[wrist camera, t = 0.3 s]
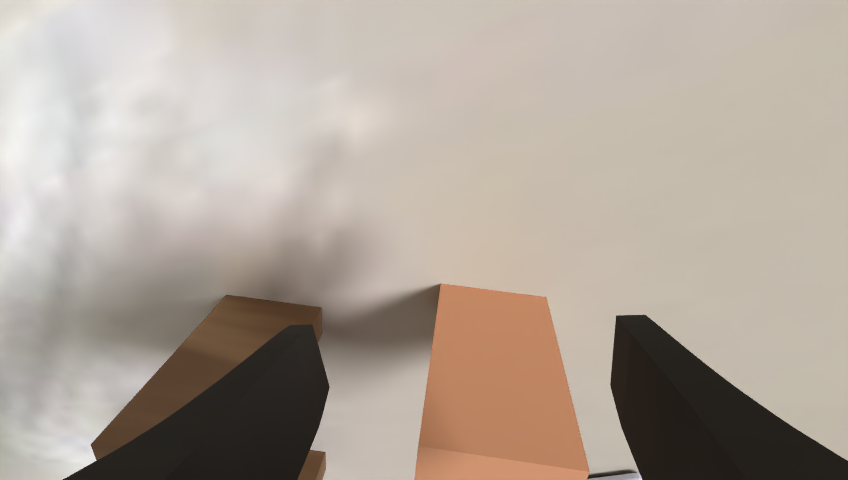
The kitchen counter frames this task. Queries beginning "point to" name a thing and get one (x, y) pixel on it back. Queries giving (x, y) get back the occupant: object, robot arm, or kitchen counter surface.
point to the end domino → (497, 393)
